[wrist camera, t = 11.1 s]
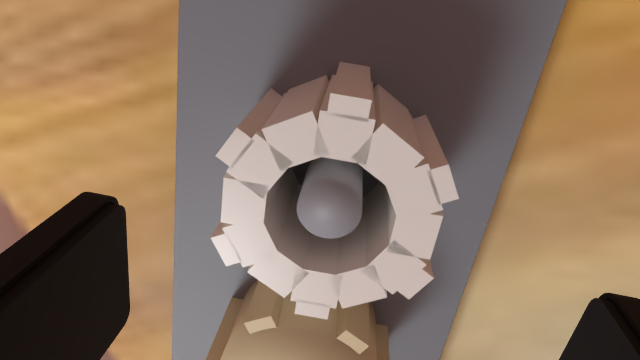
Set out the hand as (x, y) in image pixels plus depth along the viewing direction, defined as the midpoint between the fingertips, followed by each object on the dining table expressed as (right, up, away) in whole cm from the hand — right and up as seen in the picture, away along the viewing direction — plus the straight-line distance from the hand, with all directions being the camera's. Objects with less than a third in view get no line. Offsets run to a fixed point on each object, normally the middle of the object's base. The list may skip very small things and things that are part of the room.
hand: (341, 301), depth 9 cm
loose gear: (0, +3, +9) cm, 9 cm away
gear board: (0, +1, +12) cm, 12 cm away
